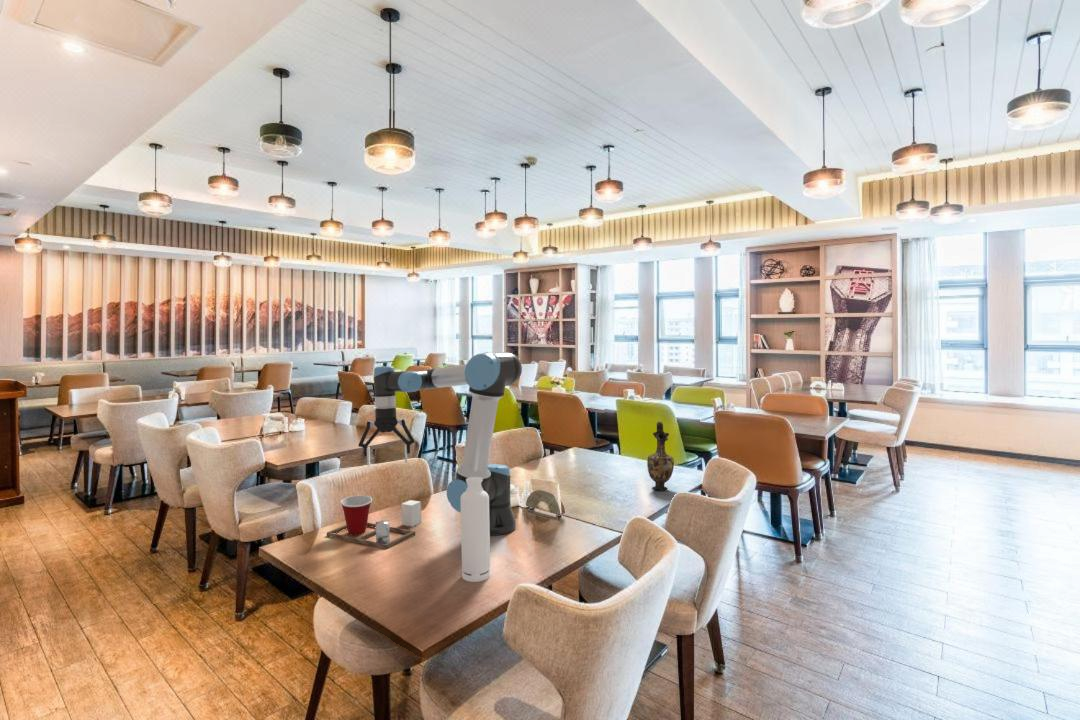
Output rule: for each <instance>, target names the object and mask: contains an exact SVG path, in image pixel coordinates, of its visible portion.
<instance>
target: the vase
mask: <svg viewBox="0 0 1080 720" xmlns="http://www.w3.org/2000/svg"><path fill="white" fill-rule="evenodd" d="M652 435H653V436H654V438H656V450H655V452H654V453H651V454H650V455H648V457H647V463H646V464H647V465H646V466H647V472H648V475H649V477H650V479H651V480H652V481H653V482H654V484H655V485H654V486H652V487H651V489H652V490H653V489H654V490H653V491H655V490H659V491H658V492H666V491H665V490H667V489H668V487H667V486H665V484H666V483H667V482H669V480H670V479H671V478H672V475H673V472H674V468H675V467H674V466H675V461H674V457H673V456H671V455H670V454H668V453H667V452H666V442H667V441H668V440H669V438H668V437H669V436H670V434H669V432H664V424H663V422H662V421H657V422H656V431H655V432H654V431H653V432H652ZM668 490H669V489H668ZM668 490H667V491H668Z"/></svg>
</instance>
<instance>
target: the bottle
mask: <svg viewBox="0 0 1080 720" xmlns="http://www.w3.org/2000/svg"><path fill="white" fill-rule="evenodd" d="M482 481H483V478H481V477H470V478H467V479H466V482H467V485H468V487H467V489H466V491H465V492H464V493H463V494H462V495H461V498H460V499H461V513H460V532H461V533H460V534H461V535H460V537H461V545H460V546H461V569H462V570H461V578H462V579H463V580H464V581H465V582H466V581H467V582H470V583H472V582H473V583H479V582H482V581H486V580H488V579H489V578H490V577H491V541H490V539H491V538H490V537H491V535H490V527H489V496H488V494H487V492H485V491H483V488H482V486H481V482H482Z"/></svg>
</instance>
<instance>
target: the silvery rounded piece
mask: <svg viewBox="0 0 1080 720" xmlns="http://www.w3.org/2000/svg"><path fill="white" fill-rule="evenodd" d="M374 524H375V525H376V528H375V530H376V535H375V542H377V543H382V544H387V543H389V542H391V540H390V538H391V536H390V535H391V533H390V532H391V531H390V528H389V527H390V520H385V519H383V520H378V521H376V522H375V523H374Z"/></svg>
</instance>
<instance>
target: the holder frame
mask: <svg viewBox="0 0 1080 720" xmlns="http://www.w3.org/2000/svg"><path fill="white" fill-rule="evenodd" d="M367 525H368V526H367V527H369V526H373V527H372V528H374V527H376V525H375V523H372V522H368V521H367ZM346 528H347V525H346V524H345V525H342V526H340V527H337V528H335V529H333V530H332V529H331V530H330V531H327V532H326V537H329V536H332V537H331V538H334V537H336V538H335V539H338V538H340V539H339V540H343V539H344V541H349V542H354V543H358V544H363V545H366V546H367V545H368V546H371V547H376V548H382V549H387V550H388V549H390V548H392V547H394V546H395V545H398V544H400V543H402V542H403V541H406V540H408V539H410V538H412V537H413V536H415V535H416V531H414V530H409V529H404V528H400V527H393V526H389V528H390V530H391V531H390V532H394V531H395V532H396V533H400V534H404V535H401V536H399V537H398V538H396V539H394V540H390V542H389V543H387V544H382V543H377V542H376V541H371V540H368V539H369V538H371V537H373V536H376V529H375V530H373V531H370V532H367V533H366V534H365V533H364V534H363V535H360V536H359V537H352V536H349V535H348V536H347V535H343V534H338V533H340V532H339V531H341V530H343V529H346ZM346 530H347V529H346ZM343 531H344V530H343ZM336 532H338V533H336ZM341 532H342V531H341ZM334 533H336V534H334Z"/></svg>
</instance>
